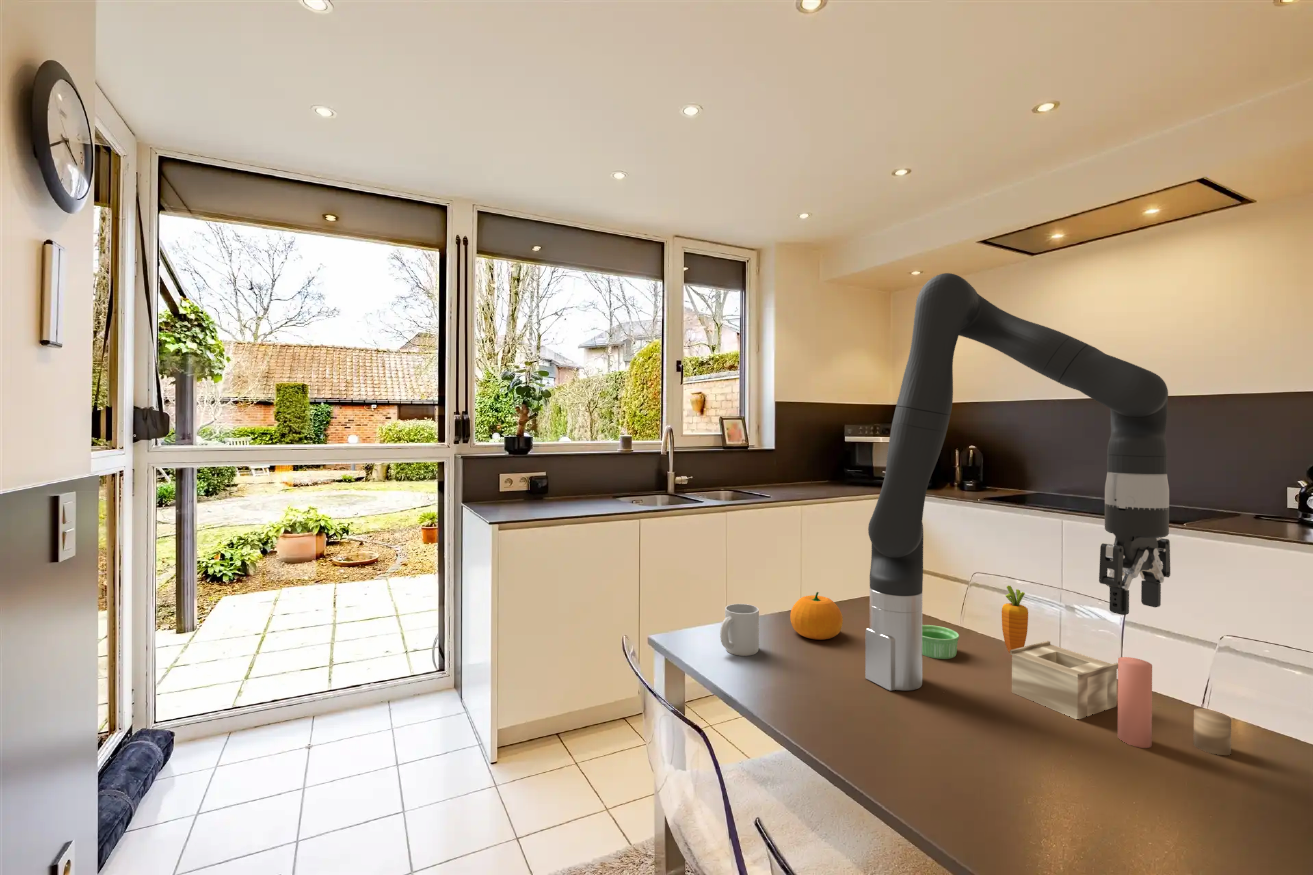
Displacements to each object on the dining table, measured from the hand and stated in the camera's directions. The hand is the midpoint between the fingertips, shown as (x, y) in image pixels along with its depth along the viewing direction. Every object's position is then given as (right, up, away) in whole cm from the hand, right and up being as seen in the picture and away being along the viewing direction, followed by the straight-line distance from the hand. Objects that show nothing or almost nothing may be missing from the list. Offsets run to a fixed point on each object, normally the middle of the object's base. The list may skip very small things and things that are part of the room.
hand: (1135, 609), depth 88 cm
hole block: (-1, -20, +14) cm, 24 cm away
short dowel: (+10, -20, -2) cm, 22 cm away
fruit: (-36, -20, +47) cm, 62 cm away
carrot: (+1, -20, +31) cm, 37 cm away
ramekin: (-13, -20, +36) cm, 43 cm away
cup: (-55, -20, +36) cm, 69 cm away
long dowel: (0, -20, 0) cm, 20 cm away
